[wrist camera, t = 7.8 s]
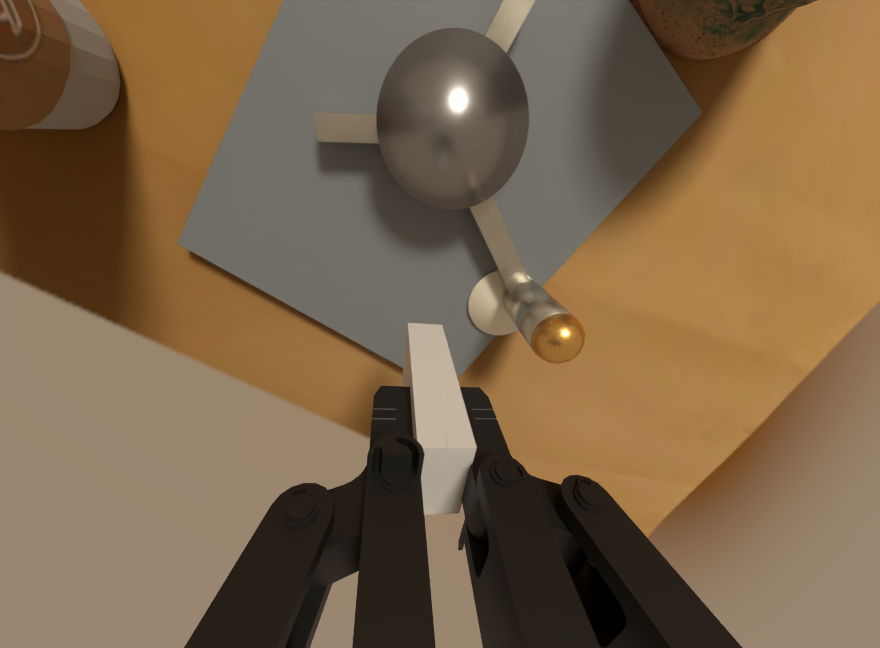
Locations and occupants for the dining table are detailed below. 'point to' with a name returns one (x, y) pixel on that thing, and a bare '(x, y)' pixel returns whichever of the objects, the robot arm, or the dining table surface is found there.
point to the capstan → (464, 151)
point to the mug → (712, 24)
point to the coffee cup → (54, 66)
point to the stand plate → (387, 204)
